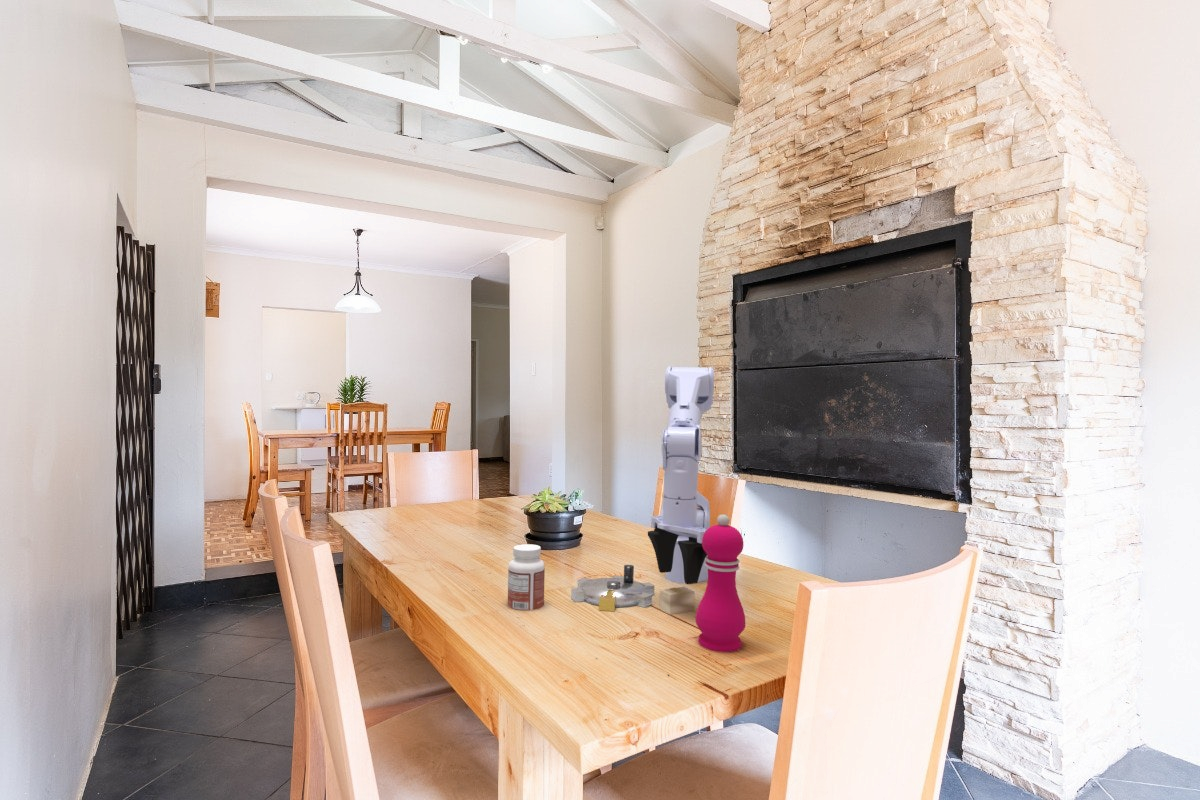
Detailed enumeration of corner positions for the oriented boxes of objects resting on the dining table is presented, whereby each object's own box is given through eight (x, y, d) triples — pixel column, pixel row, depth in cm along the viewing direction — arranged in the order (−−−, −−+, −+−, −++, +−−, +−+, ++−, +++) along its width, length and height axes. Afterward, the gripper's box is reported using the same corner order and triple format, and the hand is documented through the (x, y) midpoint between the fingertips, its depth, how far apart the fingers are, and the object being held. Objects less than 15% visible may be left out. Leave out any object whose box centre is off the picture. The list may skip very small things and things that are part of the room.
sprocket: (582, 582, 122) (582, 557, 122) (656, 587, 120) (656, 562, 120) (564, 607, 107) (565, 579, 107) (649, 614, 104) (650, 585, 104)
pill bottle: (536, 604, 112) (538, 541, 112) (549, 615, 106) (551, 549, 106) (502, 608, 109) (504, 544, 109) (513, 620, 103) (515, 552, 104)
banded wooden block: (683, 606, 110) (684, 586, 110) (694, 612, 107) (694, 591, 107) (659, 610, 107) (660, 589, 107) (669, 616, 105) (670, 594, 105)
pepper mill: (734, 664, 88) (738, 520, 88) (686, 652, 92) (690, 514, 92) (751, 648, 94) (755, 514, 94) (706, 637, 98) (709, 508, 98)
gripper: (637, 492, 112) (635, 569, 112) (686, 504, 99) (683, 591, 99) (670, 490, 115) (668, 565, 115) (721, 502, 102) (719, 586, 102)
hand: (677, 577), depth 107 cm, fingers open, 7 cm apart
